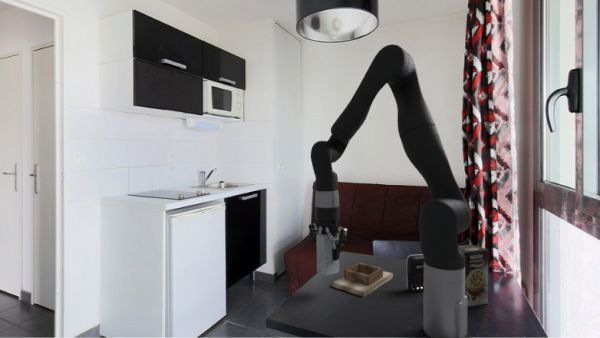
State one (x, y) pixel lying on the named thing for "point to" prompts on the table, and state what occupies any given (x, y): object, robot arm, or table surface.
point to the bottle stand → (362, 279)
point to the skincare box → (326, 256)
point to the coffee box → (475, 274)
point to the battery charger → (415, 273)
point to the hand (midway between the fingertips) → (328, 258)
